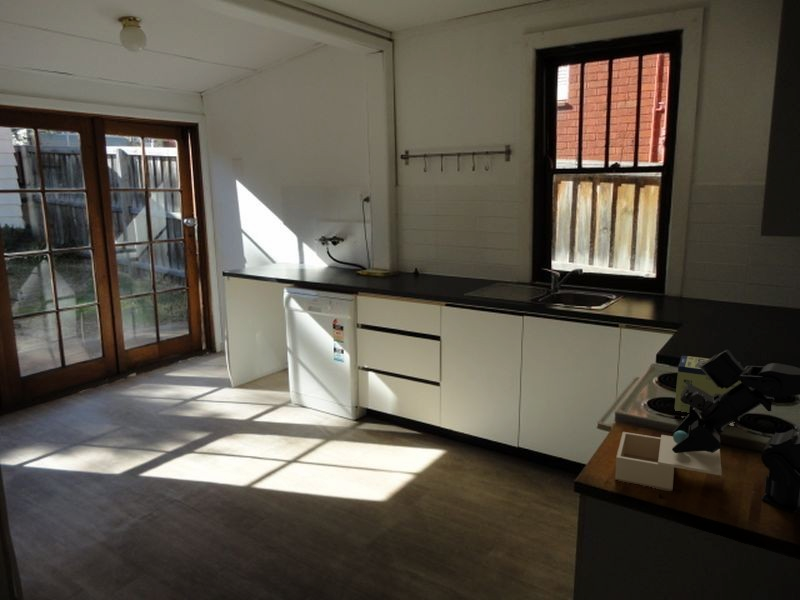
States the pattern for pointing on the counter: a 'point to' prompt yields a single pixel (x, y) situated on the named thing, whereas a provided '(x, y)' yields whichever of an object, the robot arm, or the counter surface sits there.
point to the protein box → (694, 380)
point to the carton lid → (688, 456)
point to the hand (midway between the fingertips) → (673, 442)
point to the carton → (642, 462)
